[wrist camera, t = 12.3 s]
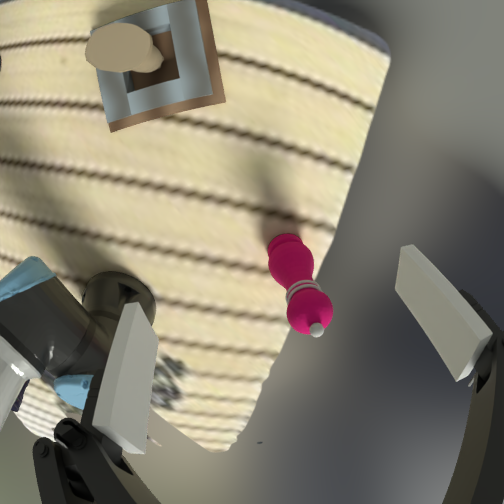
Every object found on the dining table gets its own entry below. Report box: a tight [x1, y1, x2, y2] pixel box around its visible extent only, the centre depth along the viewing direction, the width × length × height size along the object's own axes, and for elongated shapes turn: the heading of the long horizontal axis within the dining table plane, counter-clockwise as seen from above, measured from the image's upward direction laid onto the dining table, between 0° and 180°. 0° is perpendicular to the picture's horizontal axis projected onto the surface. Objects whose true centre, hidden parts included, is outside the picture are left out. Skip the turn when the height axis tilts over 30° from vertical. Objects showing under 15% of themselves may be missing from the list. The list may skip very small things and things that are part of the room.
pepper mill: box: [268, 234, 333, 337], centre depth 41 cm, size 7×7×20 cm
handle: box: [85, 23, 164, 73], centre depth 25 cm, size 5×6×15 cm
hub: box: [90, 0, 226, 133], centre depth 30 cm, size 17×17×5 cm
